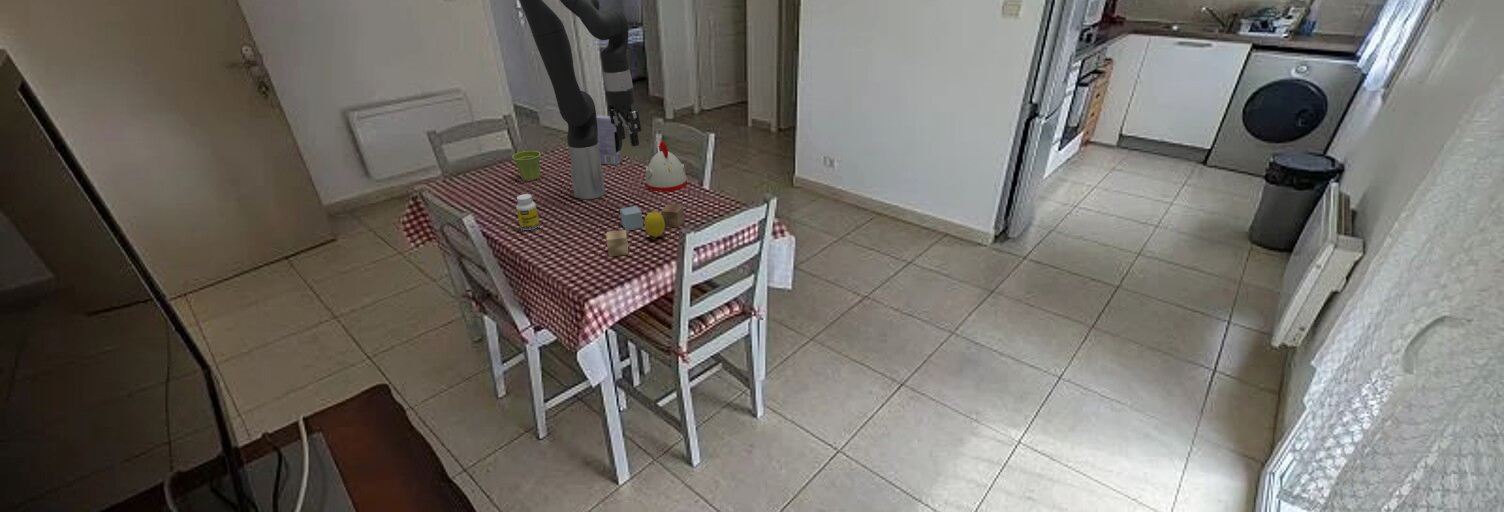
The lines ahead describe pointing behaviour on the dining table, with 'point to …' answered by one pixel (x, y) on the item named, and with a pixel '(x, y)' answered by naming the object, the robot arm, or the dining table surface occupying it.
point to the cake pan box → (608, 141)
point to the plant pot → (528, 164)
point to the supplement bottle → (527, 212)
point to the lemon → (654, 224)
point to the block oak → (617, 243)
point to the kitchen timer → (665, 172)
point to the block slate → (631, 218)
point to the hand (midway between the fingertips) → (628, 142)
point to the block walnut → (673, 215)
